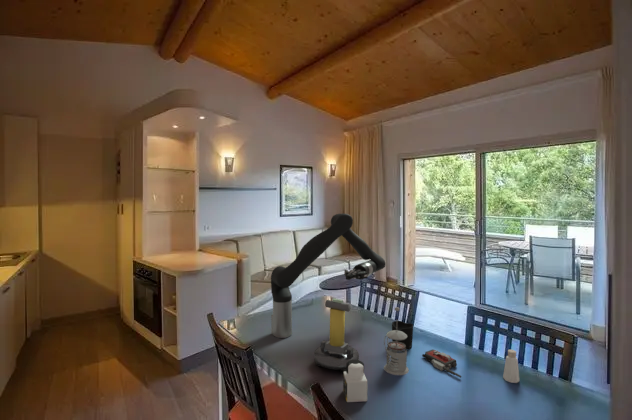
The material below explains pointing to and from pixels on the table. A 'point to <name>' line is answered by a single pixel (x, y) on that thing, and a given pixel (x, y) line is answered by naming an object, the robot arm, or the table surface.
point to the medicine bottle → (355, 382)
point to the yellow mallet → (337, 326)
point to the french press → (398, 359)
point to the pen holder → (405, 328)
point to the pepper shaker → (511, 367)
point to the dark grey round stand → (334, 358)
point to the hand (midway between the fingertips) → (347, 277)
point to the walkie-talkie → (441, 361)
